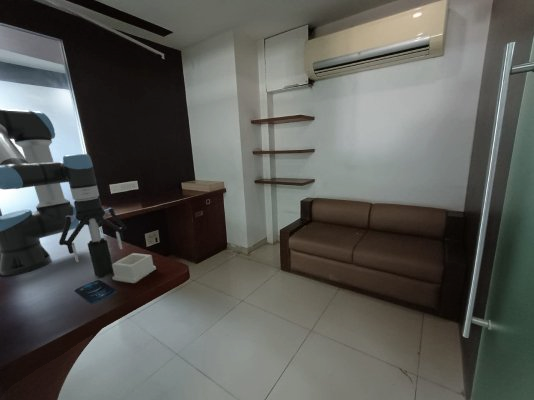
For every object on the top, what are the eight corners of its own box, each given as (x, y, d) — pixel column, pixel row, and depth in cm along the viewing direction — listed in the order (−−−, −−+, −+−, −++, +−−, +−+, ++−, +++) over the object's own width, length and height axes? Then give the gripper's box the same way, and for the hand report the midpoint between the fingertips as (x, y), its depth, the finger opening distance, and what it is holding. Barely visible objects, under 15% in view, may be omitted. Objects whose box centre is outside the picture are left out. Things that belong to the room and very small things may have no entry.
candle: (100, 278, 86) (84, 212, 80) (94, 274, 88) (78, 211, 83) (115, 271, 90) (100, 208, 84) (108, 268, 93) (94, 207, 87)
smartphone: (99, 279, 85) (118, 290, 77) (99, 280, 85) (118, 292, 77) (73, 290, 79) (90, 304, 70) (73, 291, 79) (91, 305, 71)
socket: (113, 280, 84) (109, 264, 83) (136, 266, 93) (133, 252, 92) (134, 283, 81) (131, 267, 79) (156, 268, 90) (153, 254, 89)
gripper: (38, 207, 72) (56, 270, 77) (128, 193, 88) (139, 246, 93) (39, 204, 78) (56, 263, 82) (124, 191, 94) (134, 241, 98)
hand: (100, 254), depth 87 cm, fingers open, 13 cm apart
